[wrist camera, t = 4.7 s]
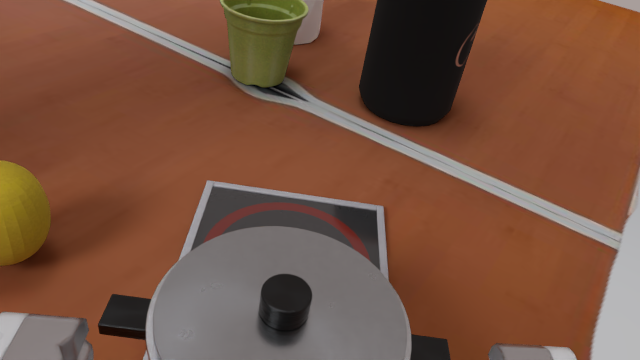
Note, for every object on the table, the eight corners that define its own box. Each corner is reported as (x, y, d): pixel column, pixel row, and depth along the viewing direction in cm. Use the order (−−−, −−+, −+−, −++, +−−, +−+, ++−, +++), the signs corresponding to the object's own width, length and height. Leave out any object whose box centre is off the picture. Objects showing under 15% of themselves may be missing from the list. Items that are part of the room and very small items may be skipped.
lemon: (43, 222, 40) (24, 129, 35) (69, 271, 36) (52, 176, 32) (-44, 248, 37) (-78, 150, 32) (-25, 304, 33) (-60, 204, 29)
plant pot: (315, 83, 64) (326, 11, 59) (252, 104, 58) (259, 25, 53) (263, 52, 68) (269, -18, 63) (200, 68, 63) (201, -7, 57)
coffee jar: (452, 137, 59) (512, -35, 48) (354, 119, 58) (392, -57, 48) (444, 91, 67) (493, -63, 56) (358, 76, 67) (391, -82, 56)
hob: (410, 613, 24) (413, 610, 24) (67, 576, 23) (66, 571, 23) (382, 210, 47) (383, 206, 46) (207, 184, 46) (207, 180, 46)
